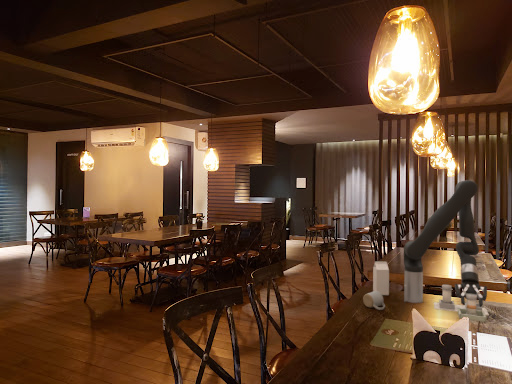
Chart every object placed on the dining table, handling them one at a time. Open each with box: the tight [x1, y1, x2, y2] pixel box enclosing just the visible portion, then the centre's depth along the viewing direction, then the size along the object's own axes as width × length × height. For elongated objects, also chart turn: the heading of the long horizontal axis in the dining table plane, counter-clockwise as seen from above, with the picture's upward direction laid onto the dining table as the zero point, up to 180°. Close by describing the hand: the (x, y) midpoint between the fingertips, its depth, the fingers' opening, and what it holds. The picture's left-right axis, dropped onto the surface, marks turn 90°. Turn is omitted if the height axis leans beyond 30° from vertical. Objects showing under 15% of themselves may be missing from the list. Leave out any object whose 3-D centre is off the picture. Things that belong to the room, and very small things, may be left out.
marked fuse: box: [465, 293, 478, 316], centre depth 179 cm, size 4×4×11 cm
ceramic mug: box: [362, 290, 386, 311], centre depth 197 cm, size 11×8×8 cm
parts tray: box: [457, 308, 487, 323], centre depth 179 cm, size 11×10×3 cm
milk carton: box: [372, 261, 390, 296], centre depth 222 cm, size 7×7×19 cm
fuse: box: [441, 284, 453, 304], centre depth 194 cm, size 4×4×11 cm
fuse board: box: [433, 299, 490, 316], centre depth 192 cm, size 24×12×4 cm, turn 66°
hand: (472, 305), depth 178 cm, fingers open, 6 cm apart
